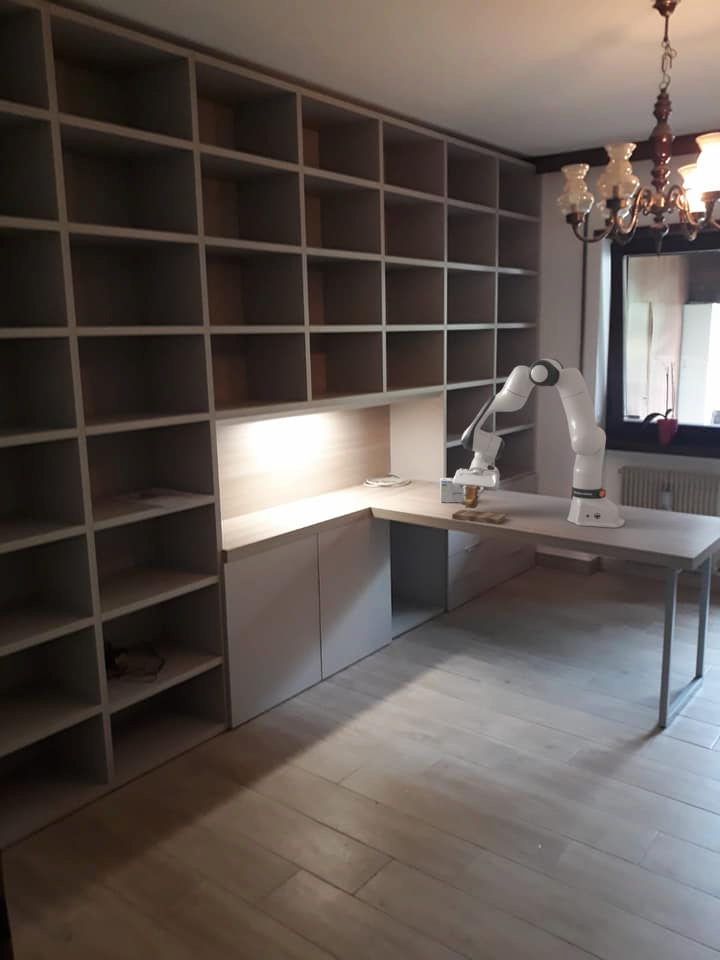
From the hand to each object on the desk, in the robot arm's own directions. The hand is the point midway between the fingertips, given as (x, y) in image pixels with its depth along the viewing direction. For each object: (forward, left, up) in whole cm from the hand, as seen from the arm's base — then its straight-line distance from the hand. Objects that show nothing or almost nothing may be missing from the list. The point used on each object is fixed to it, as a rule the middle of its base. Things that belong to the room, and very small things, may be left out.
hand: (471, 496), depth 333 cm
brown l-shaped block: (0, +2, -5) cm, 5 cm away
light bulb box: (+17, -19, -8) cm, 27 cm away
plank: (-6, +7, -8) cm, 12 cm away
